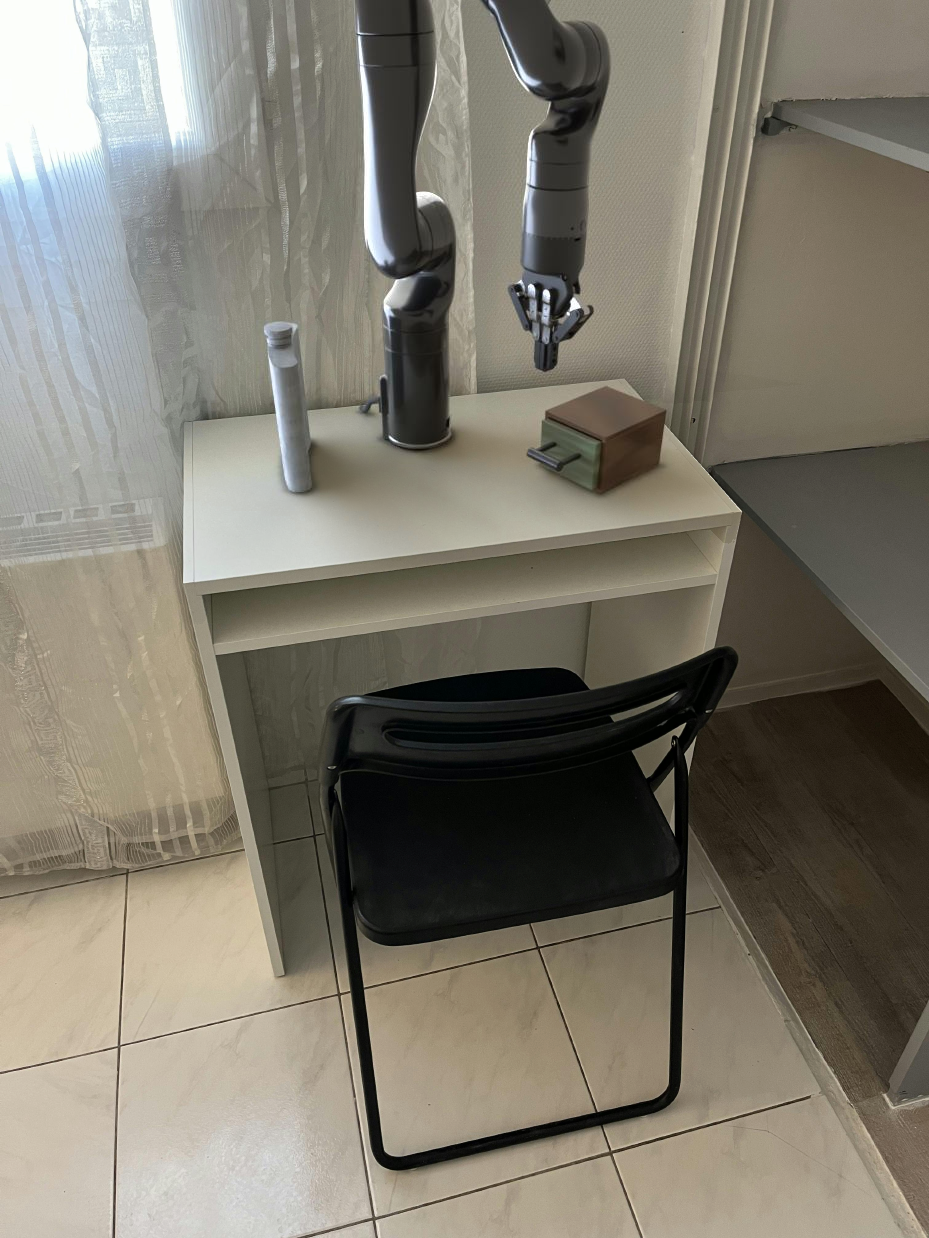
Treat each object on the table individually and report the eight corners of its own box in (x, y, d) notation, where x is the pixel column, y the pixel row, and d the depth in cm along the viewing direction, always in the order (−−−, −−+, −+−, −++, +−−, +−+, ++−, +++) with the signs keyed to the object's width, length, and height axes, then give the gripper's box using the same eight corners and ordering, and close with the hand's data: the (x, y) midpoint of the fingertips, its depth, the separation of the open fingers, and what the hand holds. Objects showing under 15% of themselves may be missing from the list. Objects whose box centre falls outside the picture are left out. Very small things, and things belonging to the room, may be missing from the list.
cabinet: (600, 494, 125) (606, 437, 120) (542, 466, 131) (545, 410, 126) (659, 465, 132) (666, 409, 126) (600, 439, 138) (605, 385, 133)
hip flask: (312, 491, 126) (295, 347, 114) (281, 493, 125) (261, 348, 113) (310, 439, 138) (295, 303, 126) (283, 440, 138) (265, 305, 126)
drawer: (566, 502, 122) (569, 456, 118) (514, 476, 127) (515, 431, 123) (646, 463, 130) (652, 418, 126) (594, 440, 136) (598, 396, 132)
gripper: (491, 219, 110) (488, 360, 120) (573, 244, 102) (561, 393, 112) (537, 208, 114) (530, 346, 124) (619, 232, 106) (603, 377, 116)
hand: (545, 368), depth 118 cm, fingers closed
